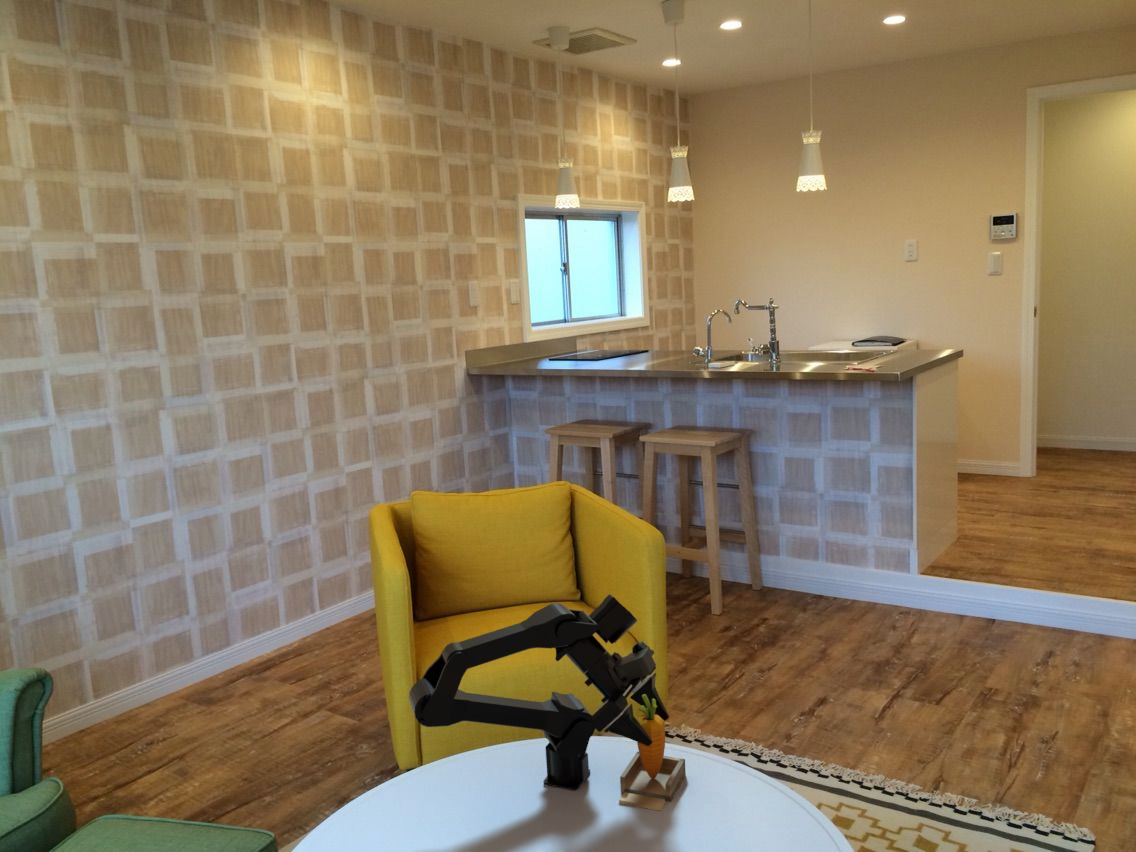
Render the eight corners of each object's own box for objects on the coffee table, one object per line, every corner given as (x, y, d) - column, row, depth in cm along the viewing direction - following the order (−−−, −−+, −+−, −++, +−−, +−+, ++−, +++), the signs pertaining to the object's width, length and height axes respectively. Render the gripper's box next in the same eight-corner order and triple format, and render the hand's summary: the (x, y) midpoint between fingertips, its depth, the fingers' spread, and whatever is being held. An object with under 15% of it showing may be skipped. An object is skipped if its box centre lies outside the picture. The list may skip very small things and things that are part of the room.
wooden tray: (614, 802, 155) (613, 785, 154) (637, 767, 166) (637, 751, 165) (665, 811, 151) (664, 794, 151) (685, 775, 162) (684, 759, 162)
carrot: (668, 786, 157) (664, 703, 154) (639, 787, 157) (634, 705, 155) (666, 770, 162) (662, 690, 159) (637, 771, 162) (633, 691, 160)
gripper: (605, 656, 149) (674, 730, 146) (642, 615, 166) (705, 681, 163) (563, 696, 153) (629, 768, 150) (604, 652, 170) (664, 716, 167)
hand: (659, 731), depth 158 cm, fingers open, 9 cm apart
